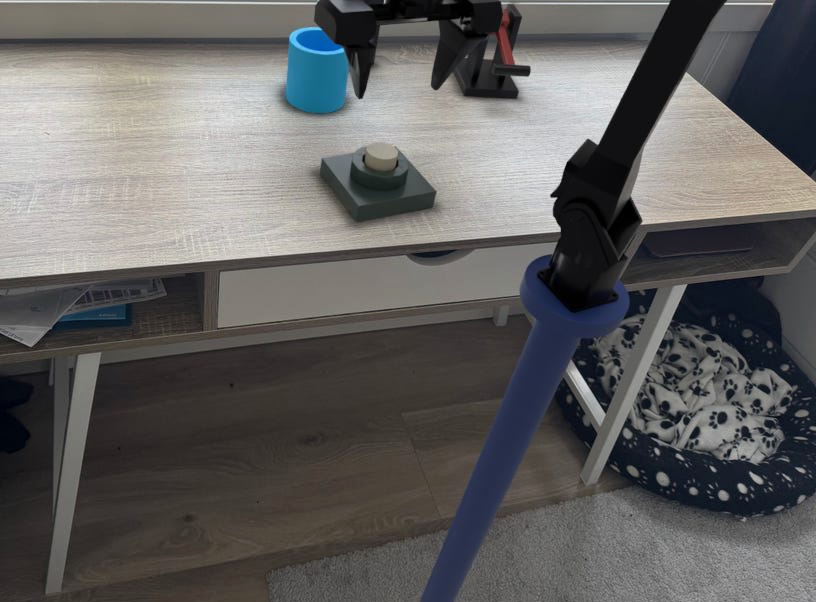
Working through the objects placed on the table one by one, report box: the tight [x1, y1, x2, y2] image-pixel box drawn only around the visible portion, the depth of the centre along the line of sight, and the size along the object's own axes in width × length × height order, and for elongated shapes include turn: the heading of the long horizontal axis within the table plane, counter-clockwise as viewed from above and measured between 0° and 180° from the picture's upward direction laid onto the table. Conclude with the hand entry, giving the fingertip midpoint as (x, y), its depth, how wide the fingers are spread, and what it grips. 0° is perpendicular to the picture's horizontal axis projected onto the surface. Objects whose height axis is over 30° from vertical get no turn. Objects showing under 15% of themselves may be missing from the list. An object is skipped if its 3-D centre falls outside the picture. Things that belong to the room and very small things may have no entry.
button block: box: [319, 145, 437, 223], centre depth 85 cm, size 10×10×4 cm
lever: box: [489, 8, 532, 78], centre depth 101 cm, size 12×5×2 cm, turn 6°
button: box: [365, 141, 398, 172], centre depth 83 cm, size 4×4×2 cm
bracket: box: [452, 3, 523, 99], centre depth 106 cm, size 10×8×11 cm
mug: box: [285, 26, 350, 114], centre depth 99 cm, size 12×8×8 cm
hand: (397, 92), depth 79 cm, fingers open, 9 cm apart
